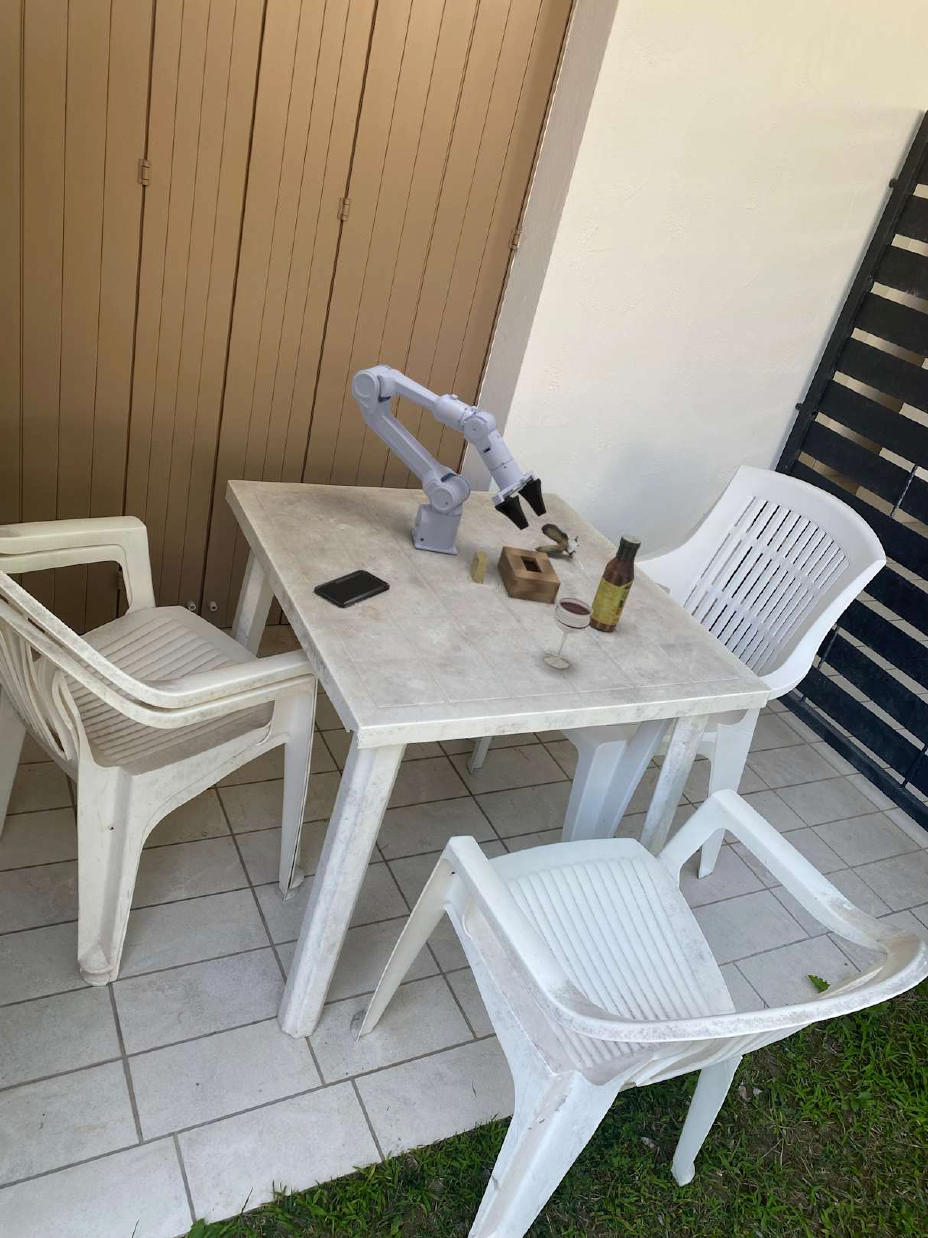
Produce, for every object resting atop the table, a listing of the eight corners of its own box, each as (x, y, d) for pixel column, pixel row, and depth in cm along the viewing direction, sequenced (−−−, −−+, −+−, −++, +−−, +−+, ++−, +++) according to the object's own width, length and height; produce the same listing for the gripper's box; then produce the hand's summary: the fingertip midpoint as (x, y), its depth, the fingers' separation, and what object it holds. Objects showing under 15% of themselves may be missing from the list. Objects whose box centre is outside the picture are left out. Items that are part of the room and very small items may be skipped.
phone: (392, 585, 184) (343, 606, 172) (391, 590, 184) (342, 611, 172) (361, 568, 187) (311, 587, 175) (360, 573, 187) (310, 592, 175)
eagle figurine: (570, 544, 224) (537, 530, 222) (584, 529, 218) (550, 515, 216) (565, 570, 220) (531, 556, 218) (579, 556, 214) (545, 541, 212)
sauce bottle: (614, 636, 190) (647, 550, 181) (585, 626, 190) (616, 540, 181) (616, 622, 196) (647, 538, 186) (587, 613, 196) (617, 528, 187)
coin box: (508, 597, 194) (515, 576, 191) (497, 566, 205) (503, 545, 203) (553, 603, 196) (560, 583, 194) (539, 572, 208) (546, 553, 205)
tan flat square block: (473, 582, 196) (479, 561, 193) (469, 571, 200) (475, 550, 198) (482, 583, 196) (488, 562, 194) (478, 572, 200) (484, 552, 198)
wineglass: (544, 646, 179) (563, 593, 173) (577, 660, 177) (597, 606, 172) (534, 661, 173) (553, 606, 167) (568, 675, 172) (588, 620, 166)
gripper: (497, 469, 187) (530, 527, 189) (532, 446, 197) (563, 501, 199) (473, 482, 192) (506, 539, 194) (508, 459, 202) (539, 513, 204)
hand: (533, 521), depth 197 cm, fingers open, 7 cm apart
